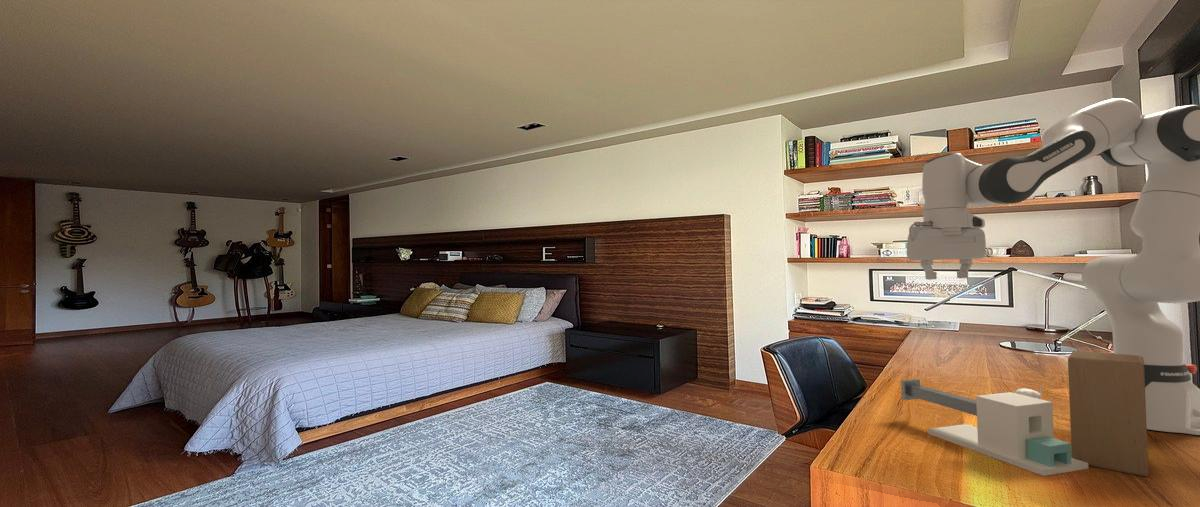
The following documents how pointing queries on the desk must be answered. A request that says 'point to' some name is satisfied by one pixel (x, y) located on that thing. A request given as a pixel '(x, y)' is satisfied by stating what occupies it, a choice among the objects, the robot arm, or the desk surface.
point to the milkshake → (1029, 392)
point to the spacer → (1048, 451)
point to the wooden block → (1108, 411)
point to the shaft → (937, 396)
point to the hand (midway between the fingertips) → (947, 278)
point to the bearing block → (1008, 431)
